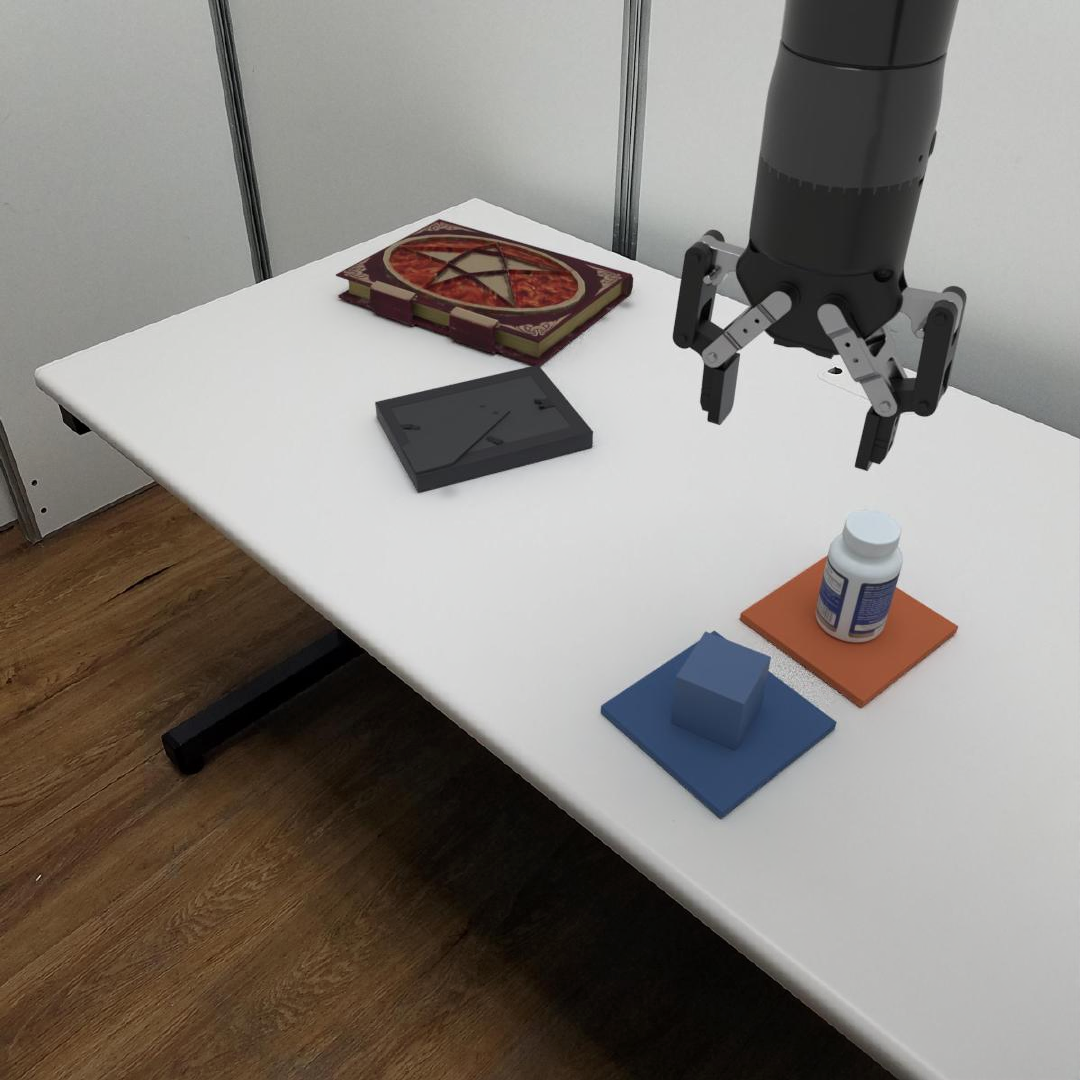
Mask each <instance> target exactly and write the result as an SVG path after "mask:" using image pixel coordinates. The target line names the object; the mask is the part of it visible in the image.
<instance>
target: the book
mask: <svg viewBox="0 0 1080 1080" xmlns="http://www.w3.org/2000/svg"><path fill="white" fill-rule="evenodd" d="M335 276H336V277H338V278H340V279H343V280H346V281H347V282H348V289H347V290H345V291H342V292H341V293H339V294H338V299H341V300H344V301H347V302H350V303H352V304H356V305H358V306H360V307H361V306H362V307H364V308H368V309H370V310H371V311H372V313H374V314H377V315H378V316H382V317H385V318H389V319H391V320H394V321H397V322H400V323H403V324H406V325H408V326H412V327H415V326H416V325H417V326H420V327H423V328H425V329H428V330H432V331H434V332H437V333H441V334H444V335H445V336H450V340H453V341H455V342H458V343H461V344H464V345H466V346H470V347H473V348H476V349H477V350H481V351H483V352H488V353H490V354H493V355H496V354H497V353H499V354H501V355H504V356H507V357H511V358H513V359H516V360H519V361H523V362H525V363H528V364H531V365H533V366H535V365H539V366H540V365H542V364H543V363H544V362H546V361H547V360H548V359H550V358H551V357H552V356H553V355H555V354H556V353H557V352H558V351H560V350H561V349H562V348H564V347H565V346H567V344H569V343H570V342H571V341H573V340H574V339H576V337H578V336H579V335H580V334H582V333H583V332H584V331H586V330H587V329H588V328H589V327H591V326H592V325H593V324H595V323H596V322H597V321H599V320H600V319H602V317H604V316H605V315H606V314H607V313H608V312H610V311H612V310H613V309H614V308H615V307H616V306H618V305H619V304H621V302H623V301H624V300H625V299H627V298H628V297H630V295H631V294H632V291H633V289H634V276H633V274H632V273H630V272H626V271H622V270H620V269H615V268H612V267H608V266H605V265H602V264H598V263H595V262H592V261H588V260H584V259H582V258H581V259H580V258H578V257H573V256H570V255H567V254H563V253H559V252H556V251H553V250H549V249H545V248H542V247H539V246H535V245H532V244H529V243H524V242H521V241H517V240H514V239H510V238H507V237H503V236H500V235H497V234H493V233H490V232H486V231H482V230H479V229H476V228H474V227H473V228H472V227H469V226H465V225H461V224H458V223H455V222H452V221H448V220H445V219H441V218H438V219H436V220H435V221H432V222H431V223H429V224H427V225H425V226H423V227H422V228H419V229H417V230H416V231H414V232H412V233H410V234H408V235H406V236H405V237H402V238H401V239H399V240H396V241H395V242H393V243H392V244H389V245H388V246H386V247H384V248H382V249H381V250H378V251H377V252H375V253H373V254H371V255H369V256H367V257H366V258H364V259H362V260H360V261H358V262H356V263H354V264H353V265H350V266H348V267H347V268H345V269H343V270H341V271H339V272H338V273H335Z"/></svg>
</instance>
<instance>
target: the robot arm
mask: <svg viewBox="0 0 1080 1080" xmlns="http://www.w3.org/2000/svg"><path fill="white" fill-rule="evenodd" d="M959 2H960V1H959V0H785V2H784V8H783V14H782V22H781V28H780V29H781V30H780V40H779V43H778V49H777V55H776V59H775V63H774V66H773V70H772V73H771V77H770V81H769V86H768V90H767V95H766V100H765V106H764V107H765V108H764V117H763V124H762V131H761V139H760V148H759V155H758V162H757V171H756V176H755V177H756V178H755V185H754V192H753V201H752V208H751V217H750V224H749V231H748V243H747V246H746V247H745V248H744V247H742V246H741V247H740V246H738V245H734V244H732V243H731V244H730V243H727V242H726V240H725V237H724V235H723V233H722V232H720V231H719V230H717V229H709V230H707V231H706V232H705V233H704V234H703V235H702V236H701V237H699V239H697V240H696V241H695V242H694V243H693V244H692V245H690V246H689V248H688V249H686V251H685V253H684V257H683V265H682V271H681V278H680V284H679V292H678V297H677V304H676V310H675V317H674V324H673V332H672V342H673V343H674V344H675V345H676V347H677V348H680V349H682V350H687V349H691V350H692V351H694V352H695V353H696V354H698V355H699V356H700V358H701V360H702V362H703V369H702V377H701V389H700V397H699V403H700V408H701V410H702V411H704V412H707V418H706V419H707V421H706V422H708V423H711V424H714V425H717V426H721V425H722V424H723V422H725V420H726V419H727V417H729V415H730V414H731V412H732V411H733V407H734V403H735V396H736V389H737V382H738V376H739V375H738V373H739V367H740V359H741V353H740V352H739V351H741V350H742V349H744V348H745V347H747V345H749V344H750V343H751V342H752V341H754V340H755V339H756V338H757V337H758V336H759V335H761V334H762V333H764V332H765V333H766V335H768V337H770V338H772V339H773V345H777V346H781V347H784V348H795V349H800V348H801V349H804V350H806V351H807V352H810V353H812V354H814V355H815V356H818V357H821V358H825V359H828V360H832V359H833V357H834V356H840V358H841V359H842V362H843V363H844V365H845V368H846V369H847V371H848V373H849V375H850V377H851V378H852V380H853V382H854V383H859V384H860V386H861V387H862V389H863V391H864V393H865V396H866V397H867V399H868V401H869V402H870V404H871V406H870V407H869V408H868V411H866V415H865V418H864V424H863V428H862V432H861V437H860V440H859V445H858V449H857V454H856V458H855V461H854V468H855V469H859V470H862V471H866V472H868V471H869V470H870V468H871V467H872V465H873V464H876V465H880V464H882V463H883V461H885V459H886V458H887V456H888V455H889V452H890V451H891V449H892V448H893V446H894V442H895V439H896V434H897V430H898V428H899V427H898V426H899V423H900V418H901V415H902V414H904V413H914V414H915V415H917V416H919V417H921V418H922V417H923V418H927V417H930V416H932V415H933V414H934V413H935V412H936V410H937V408H938V406H939V403H940V401H941V399H942V397H943V396H944V395H945V393H946V392H947V390H948V389H949V386H950V385H949V384H950V379H951V376H952V370H953V366H954V361H955V357H956V353H957V347H958V342H959V337H960V332H961V327H962V323H963V318H964V313H965V308H966V304H967V293H966V291H965V290H964V289H963V288H962V287H959V286H958V285H949V286H947V287H946V288H944V289H943V290H942V291H941V292H937V291H933V290H932V291H931V290H926V289H920V288H915V287H909V285H908V282H907V279H906V275H905V263H906V262H905V261H906V257H907V253H908V248H909V245H910V244H909V243H910V240H911V236H912V231H913V228H914V223H915V218H916V216H917V215H916V214H917V210H918V205H919V201H920V197H921V193H922V189H923V185H924V182H925V176H926V172H927V169H928V164H929V159H930V157H931V155H933V152H934V150H935V145H936V141H937V134H938V133H937V132H938V131H937V125H938V121H939V117H940V111H941V106H942V99H943V88H944V77H945V67H946V61H947V57H948V56H947V55H948V48H949V44H950V40H951V36H952V32H953V27H954V22H955V20H956V19H955V18H956V14H957V10H958V5H959ZM730 272H731V273H732V272H735V276H736V279H737V282H738V284H739V285H740V288H741V289H742V291H743V293H744V296H745V297H746V300H747V302H748V303H749V306H747V307H746V308H745V310H743V311H742V312H741V313H740V314H738V316H737V317H736V318H734V319H733V320H732V321H731V322H730V323H729V324H728V325H726V326H725V327H723V328H722V327H720V326H719V325H717V324H716V323H715V322H713V321H712V318H713V313H714V306H715V300H716V294H717V289H718V285H720V284H721V283H722V282H723V281H724V280H725V279H726V278H727V277H728V276H729V274H730ZM900 313H902V314H904V315H905V316H907V317H908V318H909V321H910V327H911V332H912V334H913V335H914V336H915V338H917V339H919V340H920V339H921V340H922V343H921V349H920V355H919V360H918V365H917V370H916V375H915V377H908V375H907V373H906V371H905V369H904V367H903V365H902V363H901V361H900V359H899V357H898V355H897V345H896V342H895V340H894V338H893V336H892V333H891V331H890V330H889V327H888V326H887V324H889V322H890V321H892V320H893V319H894V318H896V317H897V315H898V314H900Z"/></svg>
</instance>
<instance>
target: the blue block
mask: <svg viewBox="0 0 1080 1080" xmlns="http://www.w3.org/2000/svg"><path fill="white" fill-rule="evenodd" d="M724 638H725V637H724ZM724 638H721V637H719V636H716V635H714V634H711V632H708V631H705V632H703V634H702V636H701V637H700V639H699V640H698V641H699V642H698V641H697V642H698V644H697V645H696V647H695V648H694V650H693V651H692V653H691V654H690V656H689V657H688V659H687V660H686V662H685V664H684V665H683V667H682V668H681V670H680V671H679V673H678V674H677V676H676V683H675V692H674V700H673V709H672V718H671V723H672V724H674V725H677V726H679V727H681V728H684V729H686V730H688V731H691V732H693V733H695V734H698V735H700V736H702V737H705V738H707V739H709V740H712V741H714V742H716V743H719V744H721V745H723V746H725V747H728V748H730V749H732V750H735V751H736V749H737V748H738V746H739V744H740V742H741V740H742V739H743V737H744V735H745V733H746V731H747V730H748V728H749V726H750V724H751V722H752V721H753V719H754V717H755V715H756V713H757V712H758V710H759V708H760V706H761V704H762V701H763V696H764V691H765V686H766V681H767V675H768V671H769V670H770V665H771V661H772V656H770V655H767V654H765V653H762V652H760V651H757V650H755V649H752V648H750V647H747V646H744V645H742V644H739V643H736V642H734V641H731V640H729V639H727V638H725V639H724ZM726 639H727V640H726Z"/></svg>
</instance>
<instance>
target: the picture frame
mask: <svg viewBox="0 0 1080 1080" xmlns="http://www.w3.org/2000/svg"><path fill="white" fill-rule="evenodd" d="M374 405H375V406H374V407H375V412H376V413H375V414H376V419H377V421H378V422H379V424H380V426H381V428H382V430H383V432H384V433H385V435H386V437H387V439H388V440H389V443H390V444H391V446H392V448H393V450H394V452H395V453H396V455H397V457H398V459H399V461H400V463H401V464H402V467H403V468H404V470H405V472H406V474H407V475H408V477H409V479H410V481H411V482H412V485H413V486H414V487H415V489H416V492H417V493H421V492H426V491H429V490H434V489H437V488H442V487H445V486H448V485H449V486H450V485H453V484H457V483H461V482H465V481H468V480H472V479H475V478H479V477H484V476H488V475H490V474H495V473H498V472H502V471H506V470H511V469H514V468H518V467H522V466H525V465H529V464H533V463H538V462H540V461H545V460H548V459H552V458H553V459H554V458H556V457H561V456H564V455H567V454H571V453H575V452H580V451H584V450H587V449H590V448H593V445H594V444H593V443H594V431H593V429H592V428H591V427H590V426H589V424H588V423H587V422H586V421H585V420H584V418H583V417H582V416H581V414H579V412H578V411H577V410H576V408H575V407H573V405H572V404H571V402H569V400H568V398H566V397H565V395H564V394H563V393H562V392H561V390H560V389H559V387H557V385H556V384H555V383H554V382H553V380H552V379H551V378H550V377H549V376H548V375H547V373H546V372H545V370H543V369H542V367H541V366H540V365H531V366H526V367H522V368H518V369H514V370H509V371H504V372H500V373H497V374H496V373H495V374H491V375H487V376H482V377H479V378H473V379H470V380H465V381H461V382H457V383H456V382H455V383H452V384H448V385H443V386H439V387H435V388H430V389H426V390H422V391H421V390H420V391H417V392H412V393H409V394H404V395H400V396H395V397H391V398H387V399H382V400H378V401H374Z"/></svg>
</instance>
